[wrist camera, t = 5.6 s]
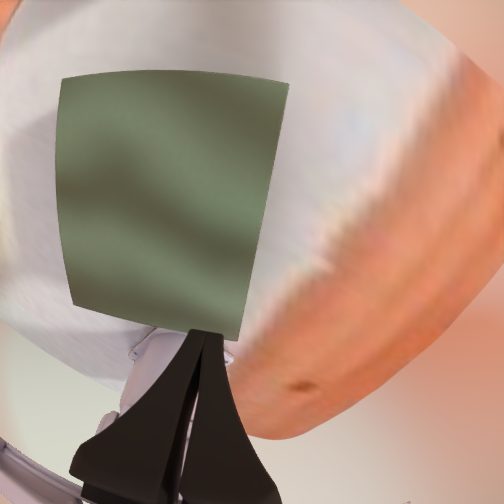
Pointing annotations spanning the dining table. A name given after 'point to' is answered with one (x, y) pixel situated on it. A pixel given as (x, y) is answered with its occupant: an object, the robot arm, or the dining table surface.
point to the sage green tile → (165, 192)
